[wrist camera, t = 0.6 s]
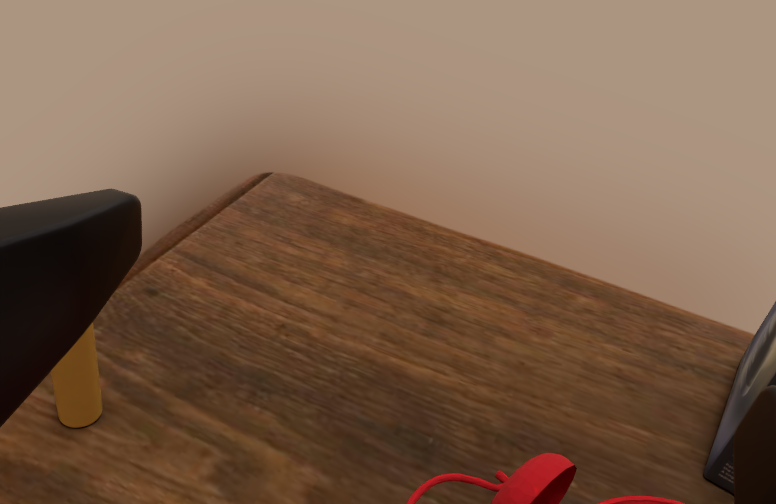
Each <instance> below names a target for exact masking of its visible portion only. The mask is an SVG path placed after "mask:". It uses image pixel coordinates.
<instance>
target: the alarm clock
mask: <svg viewBox="0 0 776 504" xmlns="http://www.w3.org/2000/svg"><path fill="white" fill-rule="evenodd" d="M576 469H577V468H576V467H575V465H574V464H573V463H572V462H570V461H569V460H568V459H567V458H565V457H563V456H561V455H559V454H554V453H545V454H540V455H538V456H536V457H534V458H532V459H530V460H528V461H527V462H526V463H525V464H523V465H522V466H521V467H520V468H519V469H517V470H516V471H515V472H514V473H513V474H512V476H511V477H510V478H509V477H508V476H506V475H505V474H504V473H503V472H502V471H498V472H497V473H496V478H497V479H498V480H500V482H502V484H499V485H495V484H493V483H490V482H487V481H485V480H482V479H480V478H476V477H471V476H467V475H463V474H444V475H440V476H436V477H434V478H432V479H430V480H429V481H427V482H425V483H424V484H422V485H421V486H420V487H419V488H418V489H417V490H416V491H415V492H414V493H413V494H412V496H411V497H410V499H409V500H408V502H407V503H406V504H415V503H416V501H417V500H418V499H419V498H420V497H421V496H422V495H423V493H424V492H426V491H427V490H428V489H430V488H431V487H433V486H434V485H436V484H439V483H442V482H446V481H460V482H465V483H470V484H475V485H478V486H481V487H484V488H486V489H489V490H492V491H496V492H498V493H497V494H496V495H495V497H494V498H493V500H492V502H491V504H559V502H560V501H561V500H562V498H563V497H564V495H565V493H566V492H567V490H568V488H569V486H570V484H571V482H572V480H573V478H574V475H575V472H576ZM597 504H684V503H681V502H678V501H674V500H670V499H665V498H660V497H651V496H624V497H618V498H612V499H609V500H606V501H602V502H599V503H597Z"/></svg>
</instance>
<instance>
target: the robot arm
mask: <svg viewBox="0 0 776 504" xmlns="http://www.w3.org/2000/svg"><path fill="white" fill-rule="evenodd" d="M141 246H142V221H141V203H140V201H139V199H138V198H137V197H136V196H134V195H132V194H129V193H125V192H122V191H118V190H115V189H106V190H100V191H94V192H89V193H83V194H77V195H71V196H66V197H60V198H54V199H48V200H42V201H37V202H31V203H25V204H19V205H14V206H8V207H2V208H0V427H1V426H2V425H3V424H4V423H5V422H6V420H7V419H8V418H9V417H10V416H11V415H12V414H13V413H14V412H15V410H16V409H17V408H18V407H19V406H20V405H21V404H22V403H23V402H24V400H25V399H26V398H27V397H28V396H29V395H30V394H31V393H32V391H33V390H34V389H35V388H36V387H37V386H38V385H39V384H40V383H41V381H42V380H43V379H44V378H45V377H46V376H47V375H48V374H49V373H50V371H51V370H52V369H53V368H54V367H55V366H56V365H57V364H58V362H59V361H60V360H61V359H62V358H63V357H64V356H65V355H66V354H67V352H68V351H69V350H70V349H71V348H72V347H73V346H74V345H75V343H76V342H77V341H78V340H79V339H80V337H81V336H82V335H83V334H84V333H85V331H86V330H87V329H88V327H89V326H90V325H91V323H92V322H93V321H94V319H95V318H96V317H97V315H98V314H99V312H100V311H101V310H102V308H103V307H104V305H105V304H106V303H107V301H108V300H109V298H110V297H111V296H112V294H113V293H114V291H115V290H116V289H117V287H118V286H119V284H120V283H121V281H122V280H123V279H124V277H125V276H126V274H127V273H128V272H129V270H130V269H131V267H132V266H133V265H134V263H135V262H136V260H137V259H138V257H139V254H140V251H141ZM733 467H734V498H735V504H776V386H774V385H771V386H767V387H765V388H764V389H763V390H762V391H761V392H760V393H759V395H758V396H757V398H756V399H755V401H754V403H753V404H752V406H751V407H750V409H749V410H748V412H747V413H746V415H745V416H744V418H743V419H742V421H741V422H740V424H739V425H738V427H737V429H736V432H735V435H734V439H733Z"/></svg>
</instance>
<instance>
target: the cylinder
mask: <svg viewBox="0 0 776 504" xmlns="http://www.w3.org/2000/svg"><path fill="white" fill-rule="evenodd" d="M51 376H52V382H53V388H54V394H55V400H56V406H57V411H58V417H59V420H60V421H61V422H62V423H63V424H64V425H66V426H68V427H73V428H79V427H84V426H87V425H90V424H92V423H93V422H95V421H96V420H97V419H98V418H99V417H100V415H101V413H102V399H101V390H100V381H99V372H98V363H97V354H96V345H95V336H94V328H93V322H92V323H91V325H90V326H89V327H88V329H87V330H86V331H85V333H84V334H83V335H82V336H81V337H80V339H79V340H78V341H77V342H76V343H75V345H74V346H73V347H72V348H71V349H70V350H69V351H68V352H67V354H66V355H65V356H64V357H63V358H62V359H61V360H60V361H59V362H58V364H57V365H56V366H55V367H54V368H53V369H52V370H51Z"/></svg>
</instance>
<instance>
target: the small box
mask: <svg viewBox="0 0 776 504" xmlns="http://www.w3.org/2000/svg"><path fill="white" fill-rule="evenodd" d="M771 385H774V386H776V302H775V304H774V305H773V307H772V309H771V310H770V312H769V313H768V315H767V316H766V318H765V320H764V321H763V323H762V325H761V326H760V328H759V329H758V331H757V333H756V334H755V336H754V338H753V339H752V341H751V343H750V344H749V346H748V348H747V350H746V352H745V353H744V355H743V357H742V359H741V362H740V365H739V368H738V371H737V374H736V378H735V380H734V383H733V386H732V389H731V392H730V395H729V398H728V401H727V404H726V407H725V410H724V413H723V416H722V419H721V422H720V425H719V428H718V431H717V434H716V437H715V440H714V443H713V446H712V449H711V452H710V455H709V458H708V462H707V465H706V468H705V470H704V476H705V477H706V478H707V479H709V480H711V481H712V482H714V483H716V484H717V485H719V486H721V487H723V488H725V489H726V490H728V491H729V492H731V493H733V494H734V467H733V439H734V435H735V432H736V429H737V427H738V425H739V424H740V422H741V421H742V419H743V418H744V416H745V415H746V413H747V412H748V410H749V409H750V407H751V406H752V404H753V403H754V401H755V399H756V398H757V396H758V395H759V393H760V392H761V391H762V390H763V389H764V388H765V387H767V386H771Z"/></svg>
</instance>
